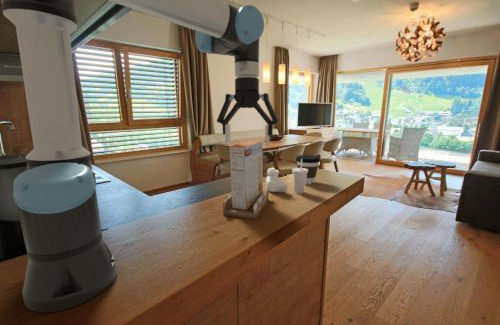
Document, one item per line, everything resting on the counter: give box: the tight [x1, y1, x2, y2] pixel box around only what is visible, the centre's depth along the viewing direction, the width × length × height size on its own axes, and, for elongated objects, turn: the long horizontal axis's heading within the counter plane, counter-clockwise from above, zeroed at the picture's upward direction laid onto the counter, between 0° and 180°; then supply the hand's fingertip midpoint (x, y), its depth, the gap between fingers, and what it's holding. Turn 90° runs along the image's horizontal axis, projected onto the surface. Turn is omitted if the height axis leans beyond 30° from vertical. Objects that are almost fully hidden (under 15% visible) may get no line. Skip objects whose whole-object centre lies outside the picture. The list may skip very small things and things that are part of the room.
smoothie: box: [291, 159, 308, 195], centre depth 101 cm, size 6×6×14 cm
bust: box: [265, 166, 288, 194], centre depth 103 cm, size 12×8×11 cm
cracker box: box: [228, 140, 264, 210], centre depth 86 cm, size 14×6×21 cm, turn 154°
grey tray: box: [222, 187, 270, 220], centre depth 88 cm, size 18×11×5 cm, turn 164°
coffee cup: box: [295, 154, 321, 185], centre depth 115 cm, size 11×11×12 cm
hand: (247, 144), depth 84 cm, fingers open, 13 cm apart
